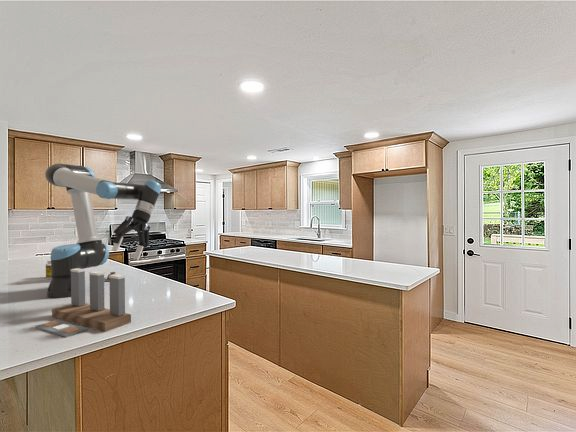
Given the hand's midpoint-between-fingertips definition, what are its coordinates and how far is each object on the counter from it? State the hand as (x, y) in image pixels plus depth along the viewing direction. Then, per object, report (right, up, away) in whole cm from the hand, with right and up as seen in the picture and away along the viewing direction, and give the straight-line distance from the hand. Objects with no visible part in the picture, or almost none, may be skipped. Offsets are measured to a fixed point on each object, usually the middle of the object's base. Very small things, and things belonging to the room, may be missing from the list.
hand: (125, 255), depth 146 cm
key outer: (+10, -18, -27) cm, 34 cm away
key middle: (0, -18, -21) cm, 28 cm away
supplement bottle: (-67, -19, +46) cm, 83 cm away
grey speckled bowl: (-28, -20, +42) cm, 54 cm away
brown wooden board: (-1, -21, -23) cm, 32 cm away
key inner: (-11, -18, -16) cm, 26 cm away
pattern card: (-6, -22, -33) cm, 40 cm away
